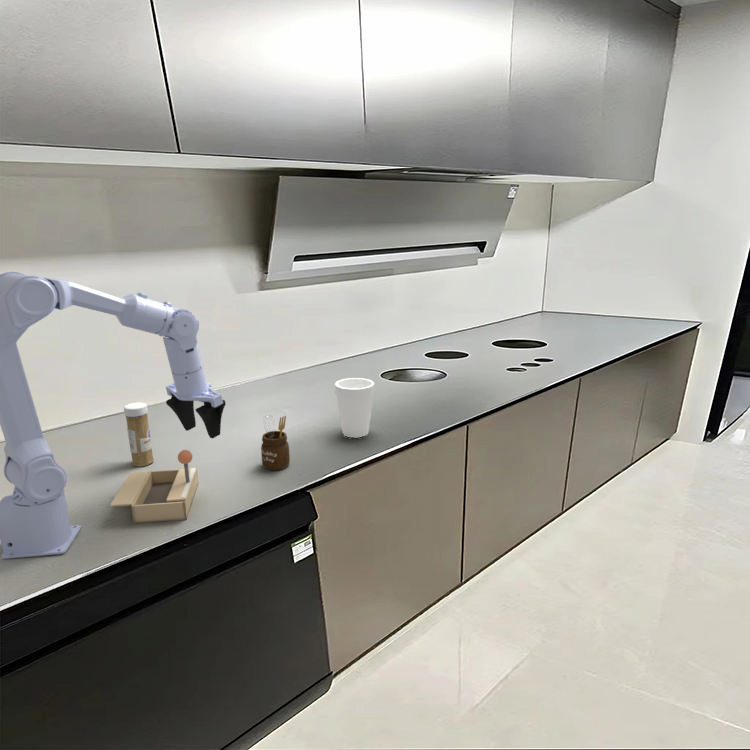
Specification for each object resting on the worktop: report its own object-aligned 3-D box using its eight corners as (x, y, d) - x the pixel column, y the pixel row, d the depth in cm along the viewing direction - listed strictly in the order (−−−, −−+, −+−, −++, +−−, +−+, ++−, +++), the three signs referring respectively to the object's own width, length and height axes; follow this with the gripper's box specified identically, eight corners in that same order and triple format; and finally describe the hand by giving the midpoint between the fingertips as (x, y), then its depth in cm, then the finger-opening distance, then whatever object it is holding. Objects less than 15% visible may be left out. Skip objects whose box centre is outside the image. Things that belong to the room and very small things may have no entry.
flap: (166, 501, 98) (162, 466, 96) (179, 469, 110) (176, 438, 109) (189, 499, 99) (185, 464, 97) (200, 468, 111) (196, 436, 109)
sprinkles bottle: (154, 465, 121) (147, 406, 117) (131, 469, 119) (123, 409, 115) (153, 457, 125) (146, 400, 121) (131, 460, 123) (123, 403, 119)
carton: (112, 525, 97) (109, 506, 96) (133, 488, 111) (130, 471, 110) (186, 519, 99) (184, 501, 98) (198, 483, 112) (196, 466, 111)
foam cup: (328, 433, 138) (327, 383, 134) (357, 424, 144) (356, 375, 140) (353, 444, 131) (352, 392, 127) (382, 434, 137) (382, 383, 133)
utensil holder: (277, 456, 125) (274, 406, 121) (296, 464, 121) (294, 412, 117) (256, 465, 120) (252, 413, 117) (275, 474, 116) (272, 420, 113)
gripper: (228, 366, 105) (242, 430, 110) (180, 357, 113) (195, 417, 118) (198, 380, 100) (214, 446, 105) (150, 369, 108) (167, 431, 113)
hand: (202, 432), depth 111 cm, fingers open, 7 cm apart
